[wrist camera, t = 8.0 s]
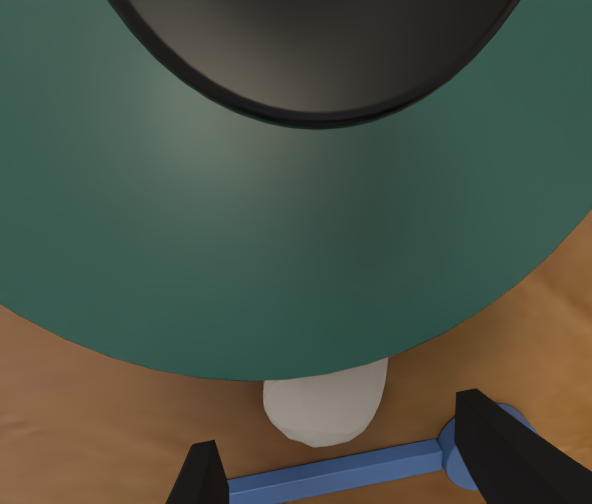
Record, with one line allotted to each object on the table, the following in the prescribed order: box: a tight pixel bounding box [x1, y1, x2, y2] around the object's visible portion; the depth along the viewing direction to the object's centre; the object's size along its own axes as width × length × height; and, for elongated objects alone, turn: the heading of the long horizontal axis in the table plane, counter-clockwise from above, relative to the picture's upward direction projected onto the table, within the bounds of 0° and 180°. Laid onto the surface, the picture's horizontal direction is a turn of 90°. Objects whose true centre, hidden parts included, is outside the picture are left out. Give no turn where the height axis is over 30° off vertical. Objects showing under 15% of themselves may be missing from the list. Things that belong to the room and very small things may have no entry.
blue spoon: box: [227, 403, 537, 504], centre depth 16 cm, size 4×15×1 cm, turn 98°
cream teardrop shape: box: [262, 357, 388, 447], centre depth 13 cm, size 4×5×2 cm
